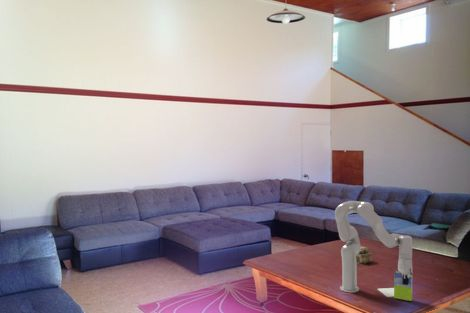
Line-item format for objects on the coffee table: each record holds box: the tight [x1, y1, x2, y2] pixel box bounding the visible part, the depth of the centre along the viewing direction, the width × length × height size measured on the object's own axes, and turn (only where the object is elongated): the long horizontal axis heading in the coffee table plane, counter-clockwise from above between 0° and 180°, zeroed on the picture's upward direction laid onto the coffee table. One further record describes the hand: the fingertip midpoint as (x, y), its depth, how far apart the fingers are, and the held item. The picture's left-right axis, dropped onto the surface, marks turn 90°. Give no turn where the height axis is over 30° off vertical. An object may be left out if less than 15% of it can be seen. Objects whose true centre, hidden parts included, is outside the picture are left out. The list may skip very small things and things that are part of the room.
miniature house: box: [356, 245, 373, 265], centre depth 333 cm, size 15×14×11 cm
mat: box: [377, 287, 394, 298], centre depth 264 cm, size 14×16×1 cm
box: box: [393, 270, 413, 302], centre depth 252 cm, size 10×4×17 cm, turn 60°
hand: (405, 284), depth 248 cm, fingers closed
